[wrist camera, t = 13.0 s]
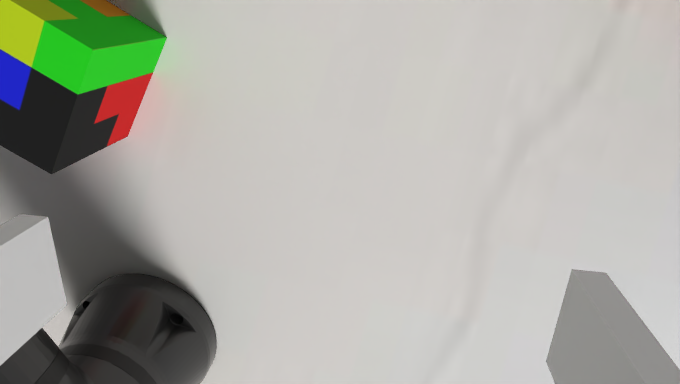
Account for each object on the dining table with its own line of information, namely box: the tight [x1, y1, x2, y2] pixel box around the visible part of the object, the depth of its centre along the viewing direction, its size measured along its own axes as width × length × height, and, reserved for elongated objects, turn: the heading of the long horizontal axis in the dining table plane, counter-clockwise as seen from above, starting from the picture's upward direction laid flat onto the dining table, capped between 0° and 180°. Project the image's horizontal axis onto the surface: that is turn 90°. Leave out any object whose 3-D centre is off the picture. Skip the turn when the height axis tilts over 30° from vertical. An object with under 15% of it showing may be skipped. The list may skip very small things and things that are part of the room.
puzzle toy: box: [0, 0, 167, 174], centre depth 35 cm, size 10×10×10 cm
